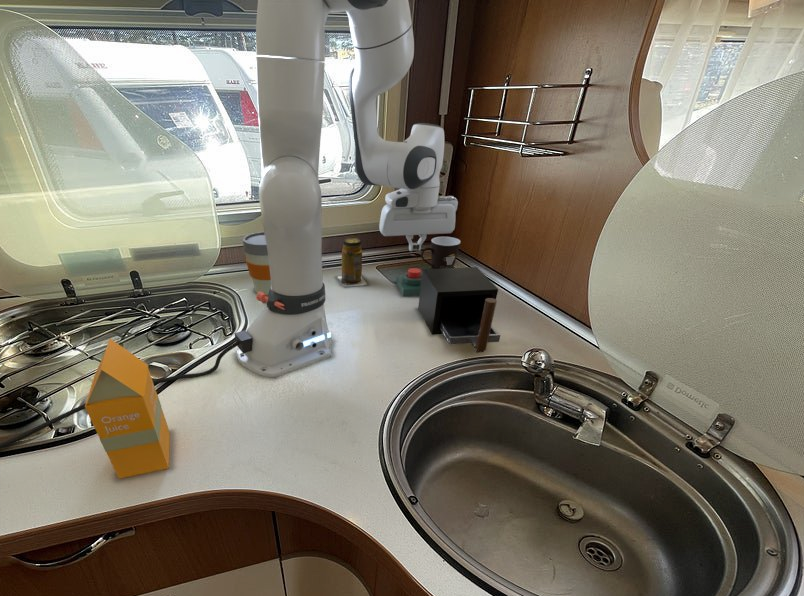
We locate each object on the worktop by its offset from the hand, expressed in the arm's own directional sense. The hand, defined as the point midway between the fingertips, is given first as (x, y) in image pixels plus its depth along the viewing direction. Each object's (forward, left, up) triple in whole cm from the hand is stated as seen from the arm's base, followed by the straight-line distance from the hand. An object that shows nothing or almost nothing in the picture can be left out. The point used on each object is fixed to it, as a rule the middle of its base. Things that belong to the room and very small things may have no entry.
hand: (414, 250), depth 117 cm
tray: (-16, -29, -9) cm, 34 cm away
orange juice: (-85, -9, -12) cm, 86 cm away
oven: (-9, -19, -11) cm, 24 cm away
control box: (0, 0, -11) cm, 11 cm away
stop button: (0, 0, -8) cm, 8 cm away
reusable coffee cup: (-29, +30, -12) cm, 43 cm away
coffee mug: (+15, +2, -12) cm, 19 cm away
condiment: (-8, +17, -12) cm, 22 cm away
